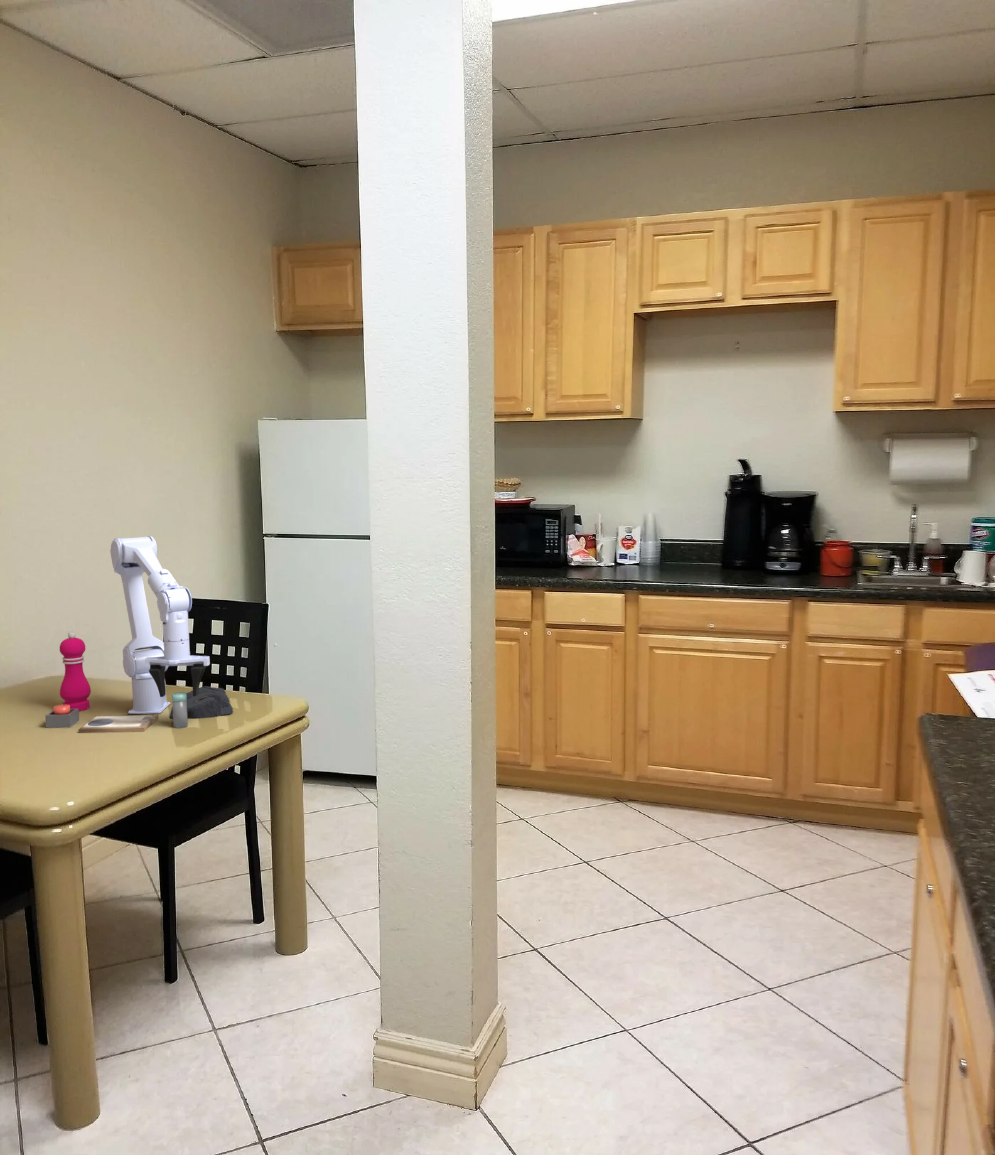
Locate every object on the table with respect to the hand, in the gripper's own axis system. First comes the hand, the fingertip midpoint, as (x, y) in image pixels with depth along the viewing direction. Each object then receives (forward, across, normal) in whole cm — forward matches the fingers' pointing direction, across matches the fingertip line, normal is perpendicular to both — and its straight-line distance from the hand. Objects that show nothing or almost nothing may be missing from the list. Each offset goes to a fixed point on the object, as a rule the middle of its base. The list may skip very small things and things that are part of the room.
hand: (179, 695), depth 222 cm
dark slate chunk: (+8, +1, +17) cm, 19 cm away
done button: (+5, -29, +4) cm, 30 cm away
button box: (+8, -29, +4) cm, 30 cm away
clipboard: (+8, -15, +2) cm, 17 cm away
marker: (+8, 0, 0) cm, 8 cm away
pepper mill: (+8, -31, +18) cm, 37 cm away
